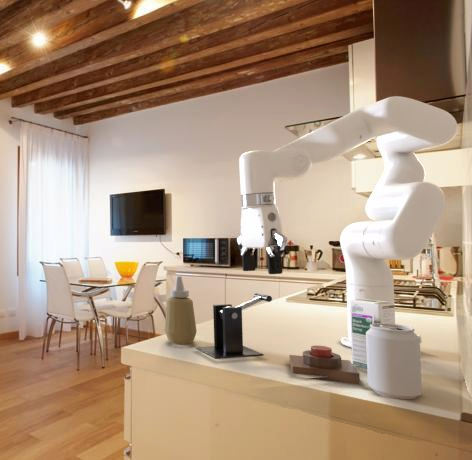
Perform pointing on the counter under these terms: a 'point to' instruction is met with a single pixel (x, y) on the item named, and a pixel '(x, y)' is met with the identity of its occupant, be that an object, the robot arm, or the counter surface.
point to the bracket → (228, 334)
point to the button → (321, 351)
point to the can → (393, 360)
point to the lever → (251, 302)
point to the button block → (325, 368)
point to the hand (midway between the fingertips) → (261, 272)
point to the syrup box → (367, 324)
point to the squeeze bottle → (180, 316)
